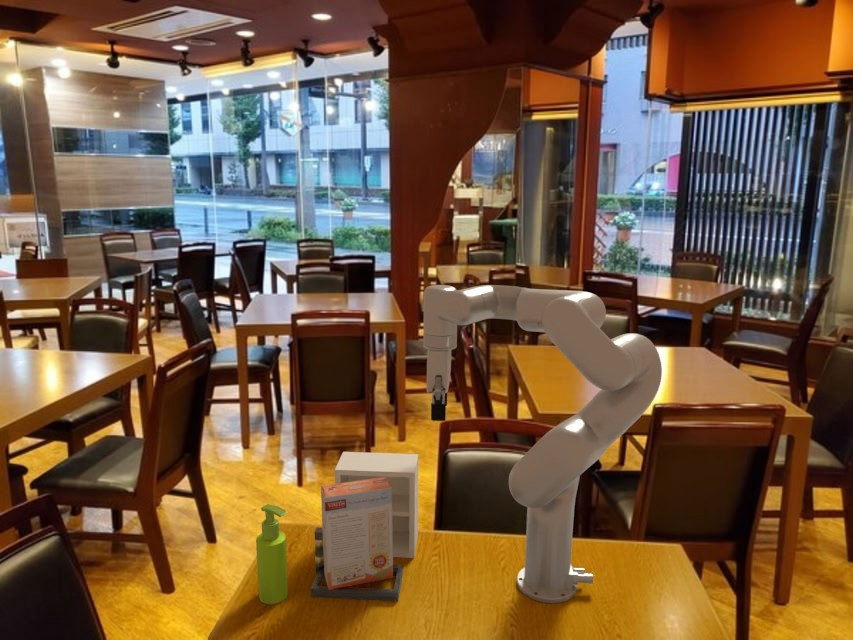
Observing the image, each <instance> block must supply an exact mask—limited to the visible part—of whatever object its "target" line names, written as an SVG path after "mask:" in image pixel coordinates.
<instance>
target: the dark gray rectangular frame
mask: <svg viewBox="0 0 853 640" xmlns="http://www.w3.org/2000/svg"><path fill="white" fill-rule="evenodd" d="M314 530H315V531H314V555H315V557H314V559H315V560H314V561H315V562H314V563H315V574H316V575H315V579H314V580H313V582H312V586H311V588H310V591H311V598H320V599H321V598H323V599H327V598H328V599H343V600H345V599H346V600H363V601H364V600H366V601H367V600H368V601H381V602H382V601H386V602H399V597H400V593H401V588H402V587H401V585H402V582H403V575H404V565H397V564H395V565H394V564H393V577H395V582H394V586H393V589H392V588H372V587H371V588H369V587H355V586H354V587H352V586H347V587H342V588H336V589H331V590H328V586H327V585H322V583H323V580H324V579H325V575H324V553H323V528H322V527H317V526H316V528H315V529H314Z"/></svg>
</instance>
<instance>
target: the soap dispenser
mask: <svg viewBox="0 0 853 640" xmlns="http://www.w3.org/2000/svg"><path fill="white" fill-rule="evenodd" d="M260 510H261V511H263V512H265V519H263V520H262V521H261V533H260V534H259V535H257V537H256V539H255V545H256V547H255V549H256V565H257V569H256V570H257V583H258V584H257V585H258V599H259V601H260V602H262V603H263V604H266V605H275V604H276V605H277V604H279V603H281V602H283V601H285V600H286V599H287V597H288V596H289V585H288V582H289V581H288V564H287V563H288V561H287V560H288V558H287V539H286V537H287V535H286V534H285V532H283V531H280V522H279V521H280V520H279V519H278V518H281V517H283V516H285V515H286V514H287V513H288V511H287V510H285V509H284V508H282V507H280V506H278V505H275V504H270V503H267V504H266V505H263V506H262V507H260ZM275 516H277V517H278V518H275Z"/></svg>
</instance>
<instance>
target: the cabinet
mask: <svg viewBox="0 0 853 640" xmlns="http://www.w3.org/2000/svg"><path fill="white" fill-rule="evenodd" d="M381 477H385V478H386V479H387V481H388V482H389V484H390V486H391V487H392V535H393V558H404V559H405V558H407V559H415V558H416V550H417V543H418V538H419V537H418V536H419V454H417V453H395V452H393V453H392V452H391V453H390V452H388V453H387V452H364V451H363V452H362V451H360V452H359V451H343V452H342V453H341V455H340V458H339V460H338V461H337V465H336V467H335V468H334V484H339V483H346V482H353V481H360V480H367V479H374V478H381Z"/></svg>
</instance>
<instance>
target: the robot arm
mask: <svg viewBox="0 0 853 640" xmlns="http://www.w3.org/2000/svg"><path fill="white" fill-rule="evenodd" d="M606 314H607V310H606V305H605V303H604V301H603V300H602V299H601V297H599V296H598V295H597V294H595V293H592V292H588V291H583V290H566V289H561V290H560V289H543V288H542V289H540V288H528V287H521V286H515V285H496V284H486V285H485V284H483V285H476V286H471V287H468V288H463V289H457V288H456V287H454V286H451V285H447V284H432V285H428V286H427V287H426V288H425V289H424V290H423V329H422V330H423V331H422V332H423V333H422V335H423V337H422V338H423V345H422V346H423V348H424V349H426V350H427V358H426V393H428V394H430V392H431V395H432V397H431V403H430V404H431V405H430V406H431V407H430V420H431V421H433V422H434V421H435V422H436V421H437V422H445V421H446V419H447V418H446V417H447V416H446V413H447V412H446V411H447V406H448V392H449V387H450V380H451V372H452V371H451V370H452V351H453V350H455V349H457V346H458V338H457V337H458V326H466V325H471V324H475V323H478V322H481V321H483V320H488V319H498V320H499V319H500V320H511V321H516V322H517V324H518V326H519V327H520V328H521V329H522V330H524V331H526V332H535V333H536V332H537V333H538V332H539V333H545V334H546V336H547V337H548V338H549V340H550V341H551V343H552V344H553V345H555V346H554V347H556V348H557V349H558V350H559V351H560V353H562V355H564V357H565V358H566V359H567V360H568V361H569V362H570V363H571V364H572V366H574V367H575V368H576V370H577V371H578V372H579V373H580V374H581V375H582V376H583V377H584V378H585V379H586V380H587V381H588V382H589V383H590V384H592V385H593V386H594V387H596V388H598V389H600V390H599V391H598V392H597V393H596V394H595V395H594V396H593V397H592V398H591V400H590V401H589V402H588V403H587V404H586V405H584V407H582V408H581V409H580V410H578V411H577V413H576V414H574V415H572V416H570V417H569V418H567V419H565V420H563V421H561V422H560V423H559V424H557V425H556V426H554V427H552V429H550V430H549V431H547V432H546V433H545V434H544V435H543V436H542V437H540V439H539V440H537V442H536V443H535V444H534V445H533V446H532V447H531V448H530V449H528V451H526V452H525V454H524V455H523V456H521V458H520V459H519V460H518V461H517V462H516V463H515V464H514V466H513V467H512V469H511V470H510V473H509V476H508V488H509V491H510V492H509V493H510V494H511V495H512V496H511V497H513V499H514V500H515V501H516V502H517V503H518V504H519V505H521V506H524V507H526V509H527V512H526V530H525V531H526V535H525V536H526V537H525V554H524V555H525V558H524V559H525V560H524V567H523V568H521V569H520V570H519V571H518V572H517V576H516V585H517V588H518V589H519V590H520V592H521V593H522V594H523V595H525V596H526V597H528V598H530V599H532V600H534V601H537V602H541V603H545V604H546V603H547V604H558V603H562V602H566V601H568V600H571V599H572V598H573V597H574V596H575V595H576V593H577V591H578V584H581V583H582V584H593V583H594V575H593V573H586V569H585V567H574V566H572V548H573V532H574V530H573V529H574V521H575V520H574V517H575V505H576V497H577V492H578V486H579V484H580V476H581V475H582V474H583V473H584V472H585V471H586V470H588V469H589V468H590V467H591V466H593V464H595V463H596V462H597V461H598V460H599V459H601V457H602V456H603V455H604V454H605V453H606V451H607V450H608V449H609V448H610V447H611V446H612V445H613V444H614V443H615V442H616V441H617V440H618V439H619V438H621V436H622V435H624V434H625V433H626V432H627V431H628V429H629V428H630V427H632V426H633V425H634V424H635V423H636V421H638V420H639V419H640V418H641V416H643V415H644V413H645V412H646V411H647V410H648V408H649V407H650V406H651V405H652V403H653V402H654V401H655V397H656V396H657V394H658V391H659V389H660V386H661V381H662V375H663V372H662V371H663V370H662V369H663V368H662V361H661V357H660V355H659V351H658V349H657V347H656V346H655V344H654V343H653V342H652V341H651V339H650V338H648V337H647V336H645V335H642V334H639V333H634V332H633V333H624V334H620V335H618V336H615V337H613V338H610V337H608V335H607V334H606V333H605V332H604V331H603V330H602V329H601V327H602V326H603V324H604V322H605V319H606Z"/></svg>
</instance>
